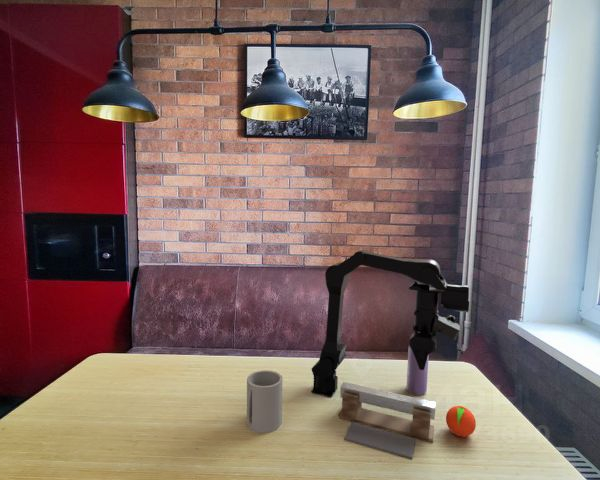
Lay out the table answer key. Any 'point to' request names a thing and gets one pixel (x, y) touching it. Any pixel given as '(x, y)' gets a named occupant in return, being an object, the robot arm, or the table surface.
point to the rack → (387, 419)
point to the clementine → (460, 421)
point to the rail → (388, 399)
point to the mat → (381, 440)
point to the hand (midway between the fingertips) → (423, 362)
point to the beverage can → (416, 375)
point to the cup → (264, 401)
